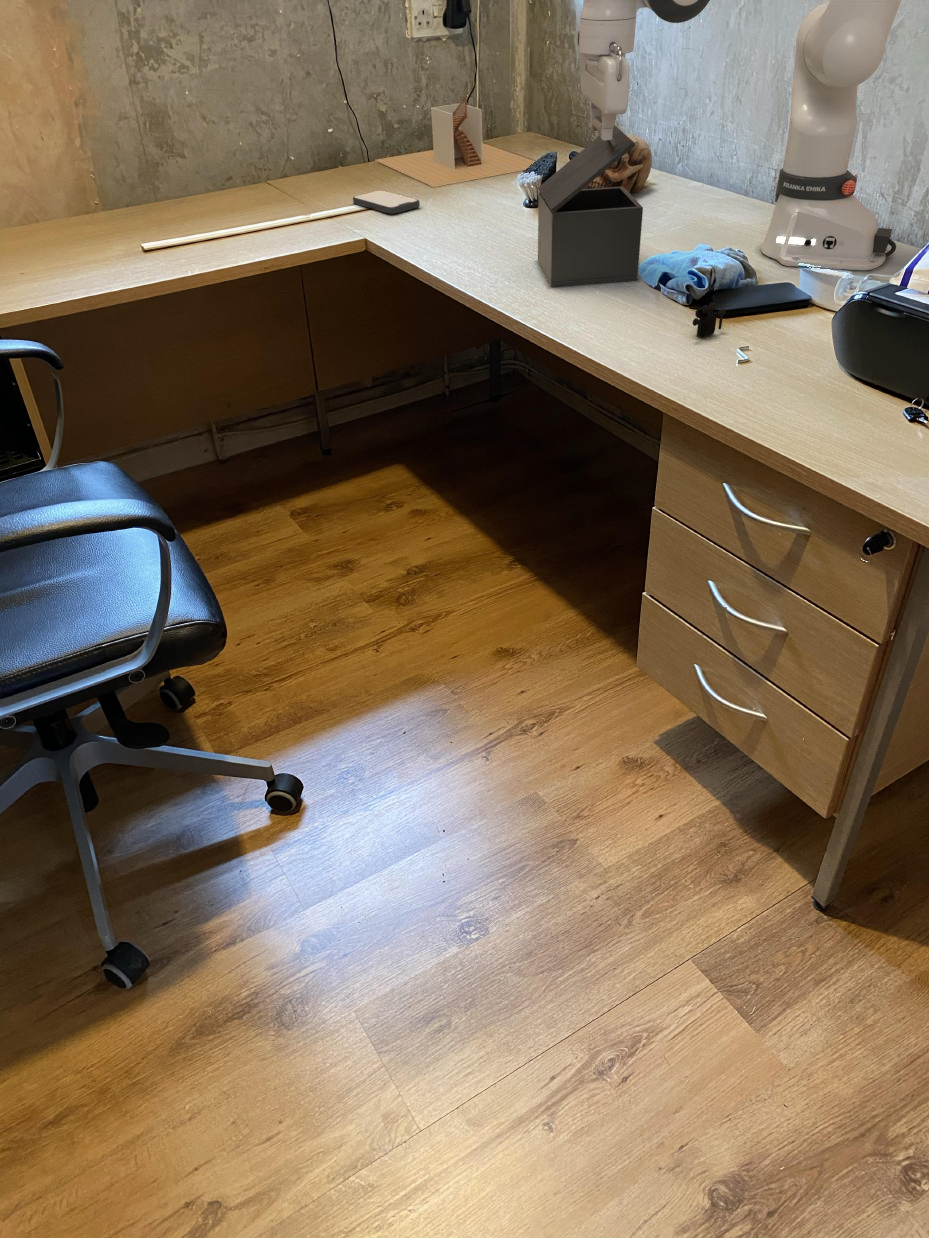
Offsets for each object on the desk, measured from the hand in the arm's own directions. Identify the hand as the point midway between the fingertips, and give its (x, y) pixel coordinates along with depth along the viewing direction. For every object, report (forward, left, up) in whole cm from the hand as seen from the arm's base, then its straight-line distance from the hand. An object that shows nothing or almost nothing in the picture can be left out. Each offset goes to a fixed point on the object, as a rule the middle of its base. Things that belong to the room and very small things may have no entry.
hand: (600, 134), depth 154 cm
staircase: (+65, -64, -23) cm, 94 cm away
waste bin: (+1, +1, -23) cm, 23 cm away
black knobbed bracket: (-28, +22, -23) cm, 42 cm away
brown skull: (+16, -49, -23) cm, 57 cm away
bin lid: (+2, +1, -5) cm, 6 cm away
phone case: (+61, -23, -23) cm, 69 cm away
